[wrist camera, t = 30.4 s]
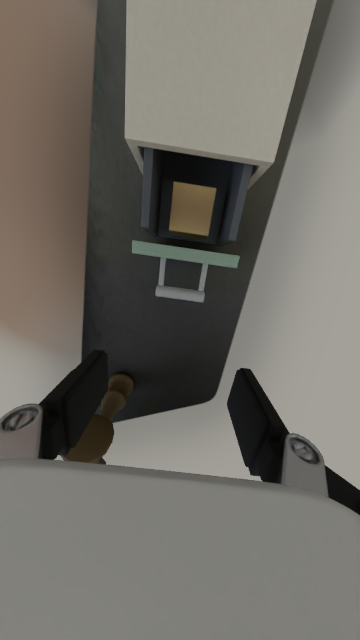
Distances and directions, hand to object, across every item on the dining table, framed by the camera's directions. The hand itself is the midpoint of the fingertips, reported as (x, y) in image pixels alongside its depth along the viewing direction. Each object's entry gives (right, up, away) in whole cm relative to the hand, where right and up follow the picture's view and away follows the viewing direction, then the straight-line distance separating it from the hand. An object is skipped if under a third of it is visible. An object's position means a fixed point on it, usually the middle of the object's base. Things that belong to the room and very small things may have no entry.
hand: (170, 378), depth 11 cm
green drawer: (+2, +16, +12) cm, 21 cm away
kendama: (-11, -9, +23) cm, 27 cm away
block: (+2, +17, +11) cm, 20 cm away
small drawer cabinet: (+3, +27, +9) cm, 29 cm away
